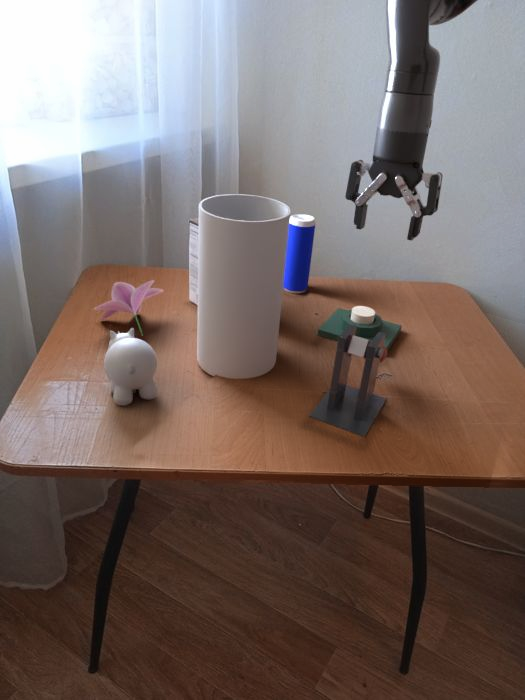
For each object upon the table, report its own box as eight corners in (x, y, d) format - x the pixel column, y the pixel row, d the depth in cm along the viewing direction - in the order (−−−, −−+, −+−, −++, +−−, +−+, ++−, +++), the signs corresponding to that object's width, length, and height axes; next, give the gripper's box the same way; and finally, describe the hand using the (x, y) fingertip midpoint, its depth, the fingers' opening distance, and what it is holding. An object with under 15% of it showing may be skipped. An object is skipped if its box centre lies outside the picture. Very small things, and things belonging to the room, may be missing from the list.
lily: (175, 321, 102) (157, 270, 100) (173, 327, 90) (152, 270, 88) (112, 342, 101) (93, 291, 99) (101, 351, 89) (79, 294, 88)
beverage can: (311, 288, 116) (320, 217, 108) (300, 296, 112) (308, 223, 104) (289, 281, 118) (296, 211, 110) (277, 289, 114) (284, 217, 106)
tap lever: (362, 360, 87) (369, 338, 86) (384, 367, 85) (391, 345, 85) (340, 355, 73) (349, 329, 73) (366, 363, 72) (375, 337, 72)
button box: (399, 336, 101) (403, 316, 99) (382, 360, 93) (387, 339, 91) (337, 318, 105) (340, 298, 103) (316, 340, 97) (319, 319, 95)
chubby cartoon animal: (145, 359, 88) (143, 311, 84) (163, 403, 79) (162, 351, 74) (98, 366, 85) (93, 316, 81) (111, 411, 76) (106, 358, 72)
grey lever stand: (334, 387, 85) (346, 312, 78) (385, 405, 82) (402, 328, 76) (308, 422, 77) (319, 342, 71) (363, 442, 74) (380, 361, 68)
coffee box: (225, 289, 112) (228, 210, 104) (246, 300, 108) (251, 220, 100) (187, 300, 107) (188, 218, 99) (208, 313, 103) (210, 228, 95)
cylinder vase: (254, 393, 82) (267, 228, 69) (181, 369, 86) (181, 209, 74) (287, 355, 92) (303, 204, 79) (220, 335, 96) (226, 189, 83)
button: (376, 318, 98) (378, 309, 97) (369, 327, 95) (371, 318, 94) (354, 312, 99) (356, 303, 98) (347, 321, 96) (348, 312, 95)
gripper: (348, 122, 82) (335, 230, 90) (445, 135, 76) (422, 249, 84) (366, 118, 88) (352, 220, 96) (458, 129, 82) (435, 237, 90)
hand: (385, 233), depth 90 cm, fingers open, 8 cm apart
